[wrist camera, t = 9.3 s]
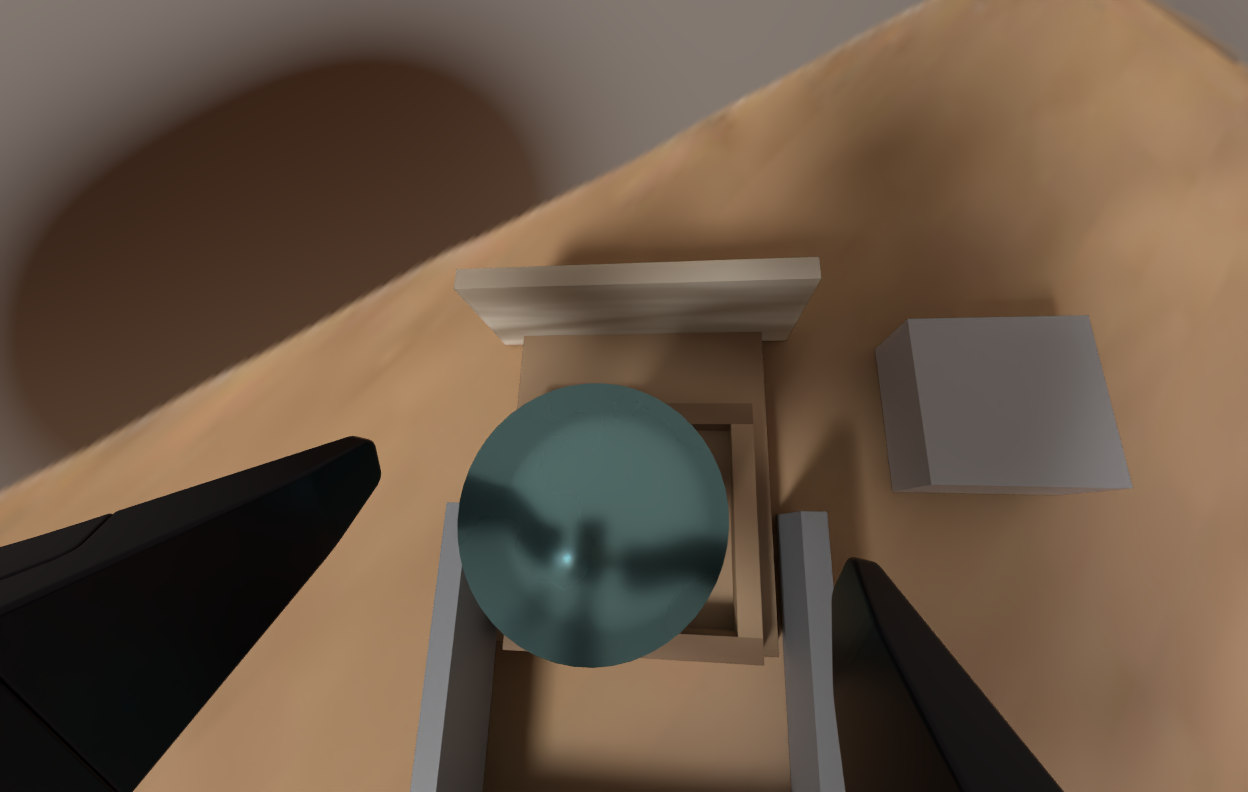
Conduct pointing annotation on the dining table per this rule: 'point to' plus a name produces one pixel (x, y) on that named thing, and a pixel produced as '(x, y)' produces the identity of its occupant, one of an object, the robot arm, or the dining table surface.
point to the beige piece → (671, 390)
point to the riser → (998, 407)
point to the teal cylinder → (593, 525)
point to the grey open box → (468, 649)
